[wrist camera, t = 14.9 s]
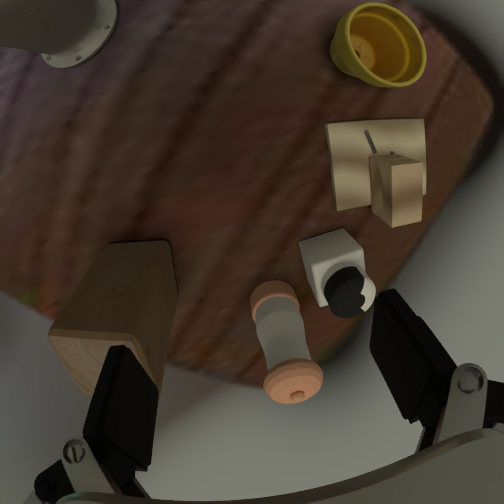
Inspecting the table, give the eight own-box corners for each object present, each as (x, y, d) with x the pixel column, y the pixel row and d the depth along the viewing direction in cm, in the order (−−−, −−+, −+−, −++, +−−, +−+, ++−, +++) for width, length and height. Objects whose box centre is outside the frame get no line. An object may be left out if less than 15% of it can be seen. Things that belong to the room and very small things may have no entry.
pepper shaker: (266, 323, 46) (286, 421, 29) (240, 296, 43) (252, 401, 26) (303, 301, 45) (339, 397, 28) (279, 271, 42) (313, 372, 25)
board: (324, 123, 32) (327, 124, 31) (419, 118, 32) (423, 119, 31) (334, 208, 38) (337, 211, 37) (422, 192, 38) (425, 194, 37)
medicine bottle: (307, 280, 43) (330, 332, 32) (297, 241, 40) (323, 288, 29) (348, 266, 43) (382, 313, 32) (343, 226, 39) (381, 268, 29)
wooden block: (170, 237, 38) (133, 341, 20) (180, 295, 42) (161, 406, 25) (106, 241, 37) (41, 334, 19) (121, 296, 41) (81, 397, 24)
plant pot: (372, 103, 31) (414, 104, 22) (305, 69, 29) (333, 54, 20) (392, 46, 27) (434, 36, 18) (329, 10, 24) (360, -15, 16)
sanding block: (368, 157, 34) (391, 165, 28) (397, 154, 34) (422, 162, 28) (371, 211, 37) (391, 227, 32) (398, 206, 37) (421, 220, 32)
